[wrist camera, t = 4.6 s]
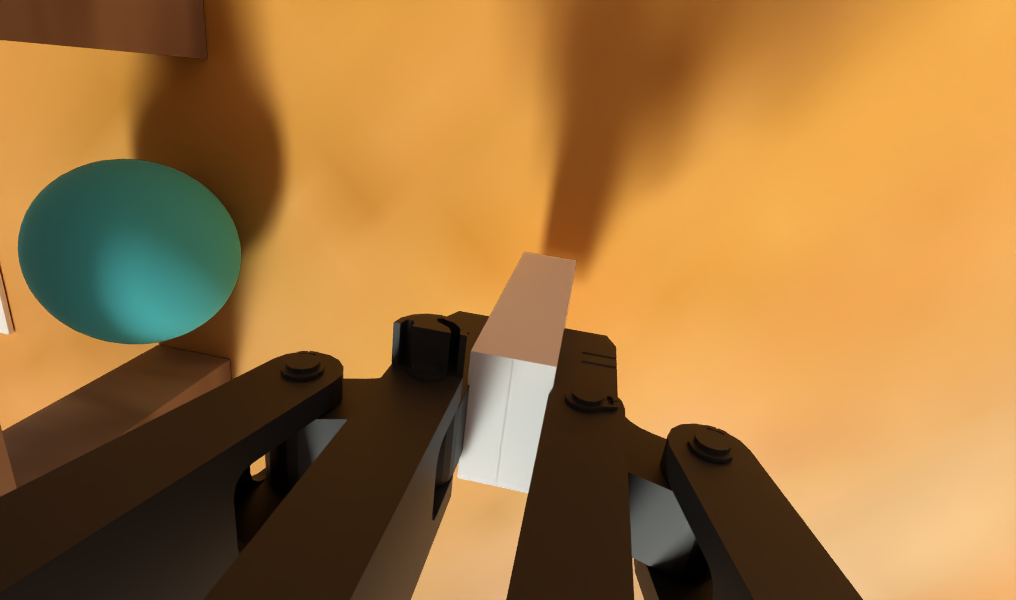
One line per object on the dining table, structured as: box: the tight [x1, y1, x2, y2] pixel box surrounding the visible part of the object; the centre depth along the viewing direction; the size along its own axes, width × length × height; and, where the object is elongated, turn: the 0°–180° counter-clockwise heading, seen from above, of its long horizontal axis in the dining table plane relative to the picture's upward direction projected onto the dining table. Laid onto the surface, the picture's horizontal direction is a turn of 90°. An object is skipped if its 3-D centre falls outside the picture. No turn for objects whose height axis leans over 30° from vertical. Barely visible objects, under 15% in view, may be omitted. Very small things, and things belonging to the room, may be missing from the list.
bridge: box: [0, 0, 231, 497], centre depth 15 cm, size 3×14×9 cm, turn 173°
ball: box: [18, 159, 241, 344], centre depth 17 cm, size 6×6×6 cm
